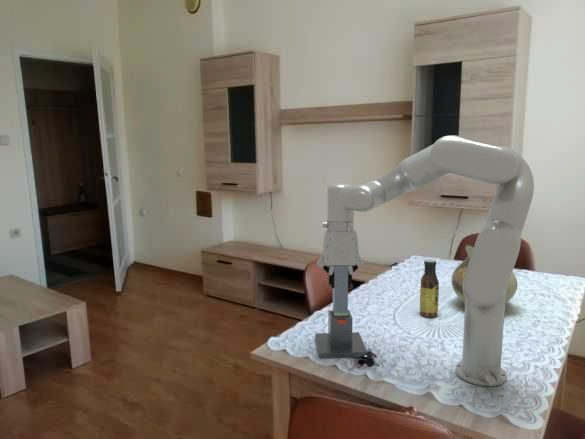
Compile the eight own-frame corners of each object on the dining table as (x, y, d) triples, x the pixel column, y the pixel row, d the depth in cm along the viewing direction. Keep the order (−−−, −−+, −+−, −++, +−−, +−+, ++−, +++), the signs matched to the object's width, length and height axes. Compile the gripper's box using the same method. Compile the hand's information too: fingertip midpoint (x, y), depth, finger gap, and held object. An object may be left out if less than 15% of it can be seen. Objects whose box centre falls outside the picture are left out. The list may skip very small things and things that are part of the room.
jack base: (367, 356, 135) (367, 322, 134) (319, 358, 135) (318, 323, 133) (358, 336, 149) (359, 305, 147) (315, 337, 149) (314, 306, 147)
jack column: (348, 326, 139) (348, 254, 135) (333, 326, 139) (334, 254, 135) (345, 320, 143) (346, 250, 139) (332, 321, 143) (332, 250, 139)
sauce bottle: (438, 318, 163) (440, 263, 160) (420, 317, 164) (422, 262, 161) (436, 312, 169) (439, 258, 166) (419, 311, 171) (420, 258, 167)
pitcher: (475, 321, 160) (479, 250, 156) (436, 299, 183) (439, 236, 179) (529, 314, 166) (535, 246, 162) (485, 294, 189) (489, 233, 185)
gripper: (312, 229, 132) (313, 291, 135) (371, 228, 132) (370, 290, 135) (310, 224, 139) (311, 283, 142) (366, 223, 140) (365, 282, 143)
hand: (340, 286), depth 139 cm, fingers closed on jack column, 4 cm apart
